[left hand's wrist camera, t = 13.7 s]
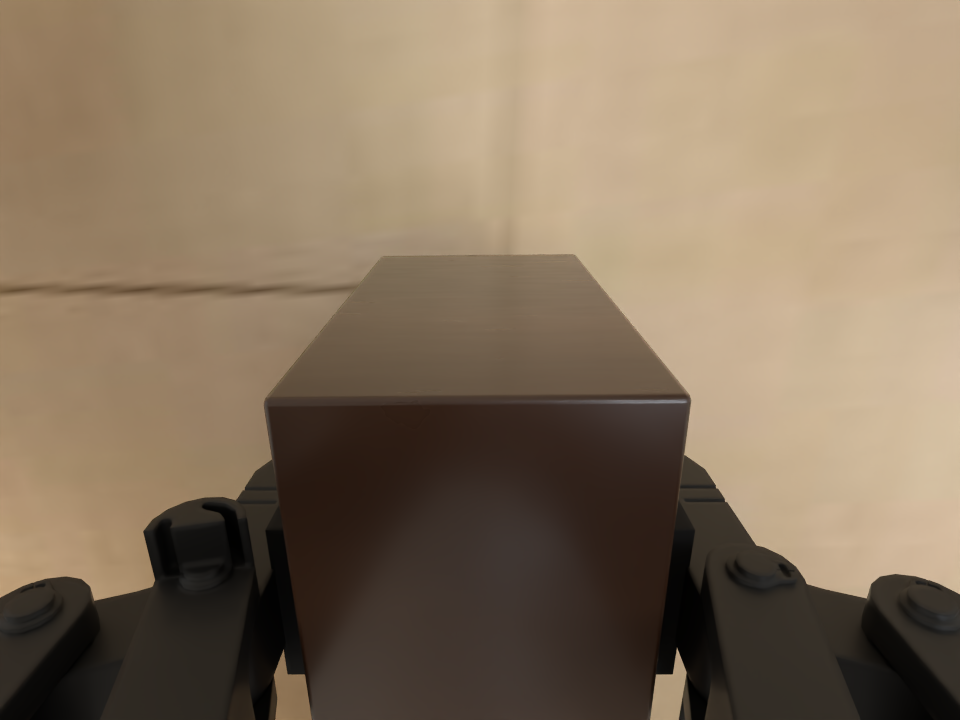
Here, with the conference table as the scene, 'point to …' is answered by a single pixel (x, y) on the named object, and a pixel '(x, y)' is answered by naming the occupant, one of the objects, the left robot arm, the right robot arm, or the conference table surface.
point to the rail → (479, 495)
